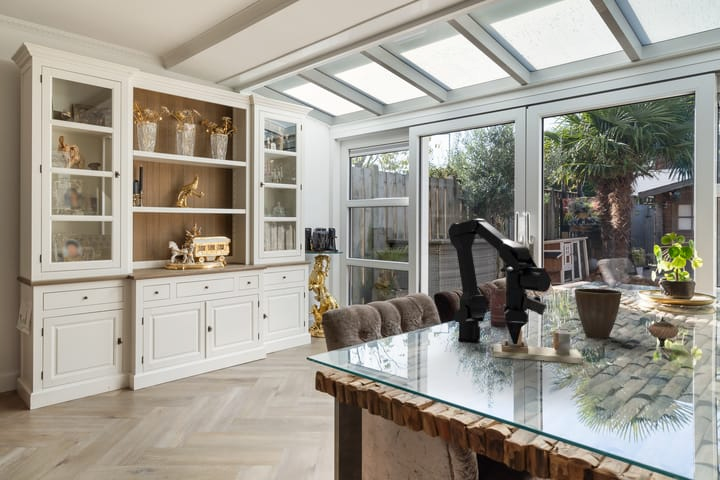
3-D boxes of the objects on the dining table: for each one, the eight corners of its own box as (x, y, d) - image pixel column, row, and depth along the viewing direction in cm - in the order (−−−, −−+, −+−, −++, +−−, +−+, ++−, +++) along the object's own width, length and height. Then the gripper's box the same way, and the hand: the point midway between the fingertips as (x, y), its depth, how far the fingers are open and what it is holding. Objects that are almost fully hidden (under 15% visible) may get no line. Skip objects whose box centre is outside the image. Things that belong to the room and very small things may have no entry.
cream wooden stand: (493, 356, 142) (493, 330, 142) (493, 348, 152) (493, 324, 152) (582, 363, 136) (583, 336, 136) (576, 354, 145) (577, 329, 145)
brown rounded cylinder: (508, 327, 185) (508, 290, 185) (490, 326, 186) (491, 289, 186) (506, 324, 191) (507, 288, 191) (489, 323, 192) (490, 287, 192)
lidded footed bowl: (680, 347, 156) (681, 316, 155) (674, 352, 150) (675, 320, 149) (650, 343, 161) (651, 313, 161) (644, 347, 155) (645, 316, 155)
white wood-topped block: (508, 350, 143) (508, 330, 143) (507, 346, 148) (507, 326, 148) (521, 351, 142) (522, 331, 142) (520, 347, 147) (521, 327, 147)
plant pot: (573, 338, 167) (575, 292, 167) (572, 330, 181) (573, 287, 181) (623, 342, 162) (624, 294, 161) (618, 333, 176) (619, 289, 175)
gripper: (547, 293, 134) (546, 350, 134) (541, 285, 152) (540, 335, 152) (505, 291, 137) (504, 346, 137) (504, 284, 155) (503, 333, 155)
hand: (514, 340), depth 145 cm, fingers open, 9 cm apart
